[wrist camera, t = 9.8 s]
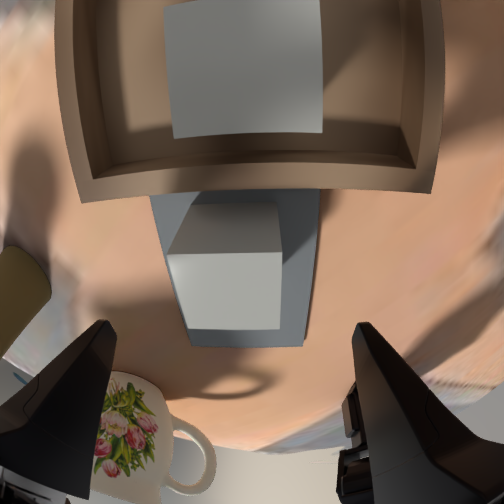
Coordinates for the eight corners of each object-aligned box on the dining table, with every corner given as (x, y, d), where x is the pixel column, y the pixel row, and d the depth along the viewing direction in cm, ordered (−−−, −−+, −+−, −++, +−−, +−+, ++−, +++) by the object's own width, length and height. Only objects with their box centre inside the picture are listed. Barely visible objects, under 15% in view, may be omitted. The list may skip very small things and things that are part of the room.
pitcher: (211, 422, 30) (201, 517, 19) (78, 381, 27) (49, 470, 16) (235, 391, 24) (225, 525, 13) (60, 335, 21) (12, 454, 10)
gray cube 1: (299, 25, 8) (318, -3, 4) (301, 115, 10) (322, 132, 7) (195, 30, 8) (163, 7, 5) (202, 119, 10) (174, 139, 7)
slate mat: (319, 178, 12) (321, 181, 12) (302, 342, 19) (302, 346, 19) (150, 185, 13) (147, 188, 12) (192, 341, 19) (191, 346, 19)
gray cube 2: (276, 201, 12) (282, 252, 9) (276, 270, 15) (279, 329, 11) (190, 205, 13) (166, 254, 9) (202, 271, 15) (188, 328, 12)
